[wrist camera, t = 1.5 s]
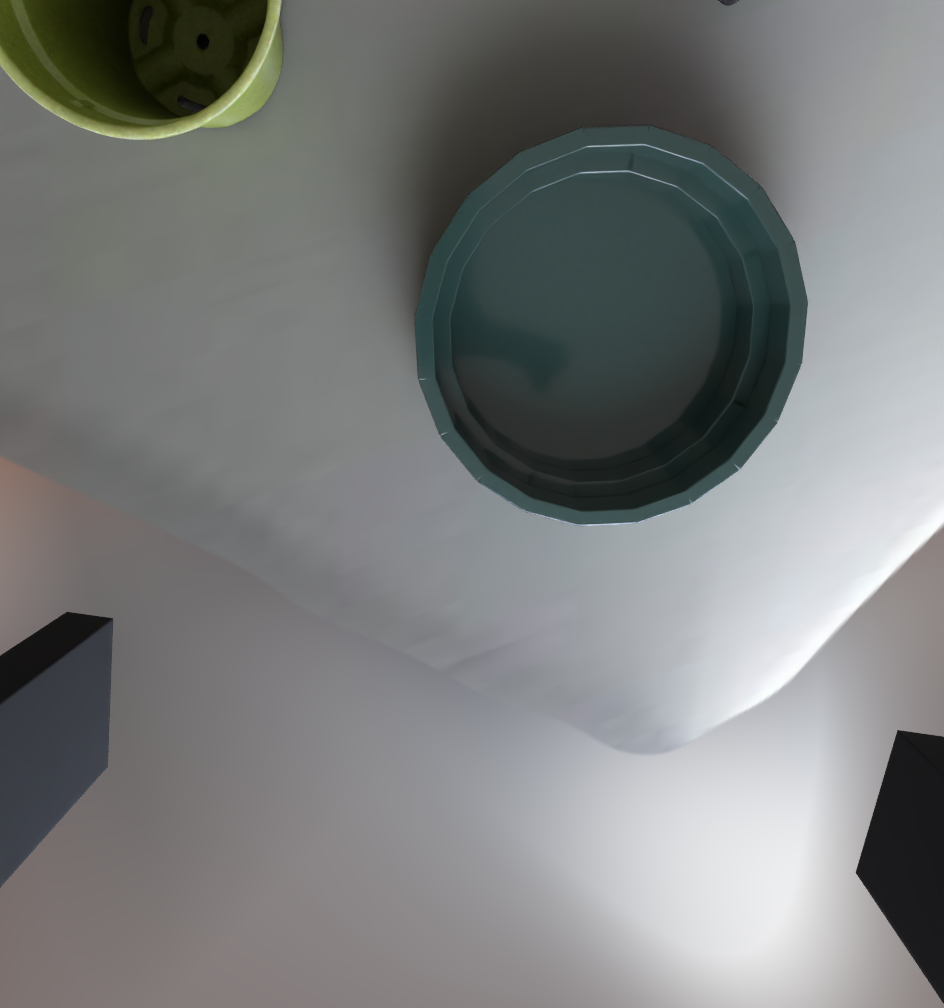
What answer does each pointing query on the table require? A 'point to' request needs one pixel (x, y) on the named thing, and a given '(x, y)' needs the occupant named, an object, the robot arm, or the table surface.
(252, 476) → the table surface
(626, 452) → the bowl
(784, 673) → the table surface
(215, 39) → the plant pot
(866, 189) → the table surface
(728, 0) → the calculator
